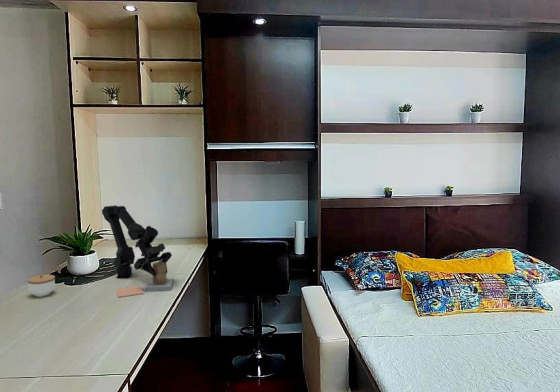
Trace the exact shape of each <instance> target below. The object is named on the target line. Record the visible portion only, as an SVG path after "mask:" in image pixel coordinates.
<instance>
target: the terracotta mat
mask: <svg viewBox="0 0 560 392" xmlns="http://www.w3.org/2000/svg"><path fill="white" fill-rule="evenodd" d="M144 293H145V292H144V290H143V289H142V286H141V285H138V286H131V287H124V288H116V295H117V298H124V297H125V298H126V297H132V296H138V295H144Z"/></svg>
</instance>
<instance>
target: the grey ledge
mask: <svg viewBox="0 0 560 392" xmlns="http://www.w3.org/2000/svg"><path fill="white" fill-rule="evenodd" d="M173 280H174V279H173V278H171V279H169V278H168V279H167V283H165V284H162V285H156V284H153V279H152V280H151V279H149V282H148V283H147V285H146V287H145V288H146V289H145V292H147V291H149V292H163V291H164V292H169V291H171V289H172V287H173V284H174V281H173Z"/></svg>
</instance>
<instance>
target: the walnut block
mask: <svg viewBox="0 0 560 392" xmlns="http://www.w3.org/2000/svg"><path fill="white" fill-rule="evenodd" d="M166 265H167V262H166V263H165V262H161V261H160V262H159V261H156V262H152V263H151V266H152V267H153V269H154V271H155V273H156V277H155V276H153V275H152V280H153V284H156V285H162V284H165V283H167V280H168V279H167V278H168V277H167V273H166Z"/></svg>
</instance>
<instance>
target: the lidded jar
mask: <svg viewBox="0 0 560 392" xmlns="http://www.w3.org/2000/svg"><path fill="white" fill-rule="evenodd" d="M55 281H56V276H55V275H53V274H39V275H35V276H33V277H30V278H28V279H27V286H28V287H27V288H28V289H29V292H30V293H31V294H32V295H34V297H36V298H37V297H39V298H40V297H41V298H42V297H46V296H50V295H51V293H52V292H53V290H54V289H55V284H56V282H55Z"/></svg>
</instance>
